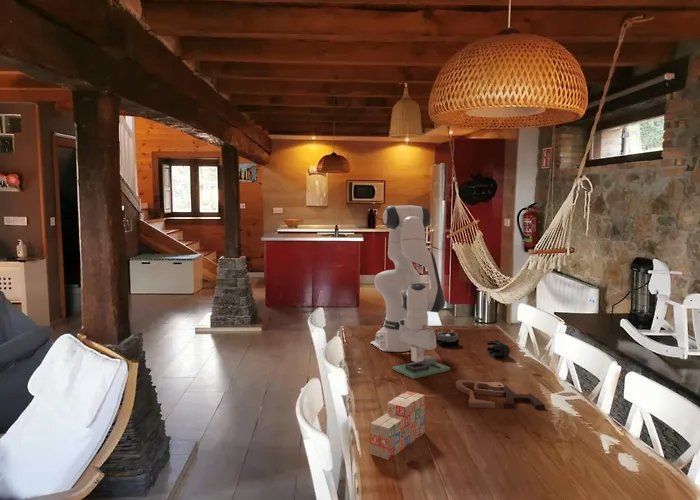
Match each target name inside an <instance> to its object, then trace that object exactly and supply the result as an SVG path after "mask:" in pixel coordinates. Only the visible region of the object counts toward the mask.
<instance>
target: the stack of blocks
mask: <svg viewBox="0 0 700 500" xmlns="http://www.w3.org/2000/svg"><path fill="white" fill-rule="evenodd" d="M425 398H426V395H425V394H421V393H417V392H415V391H414V392H413V391H408V390H407V391H405V392H403V393H401V394H399V395H398V396H396V397H394V398H393V399H392V400H390V401H388V402H387V408H386V410H387V411H386V413H384V414H383V415H381V416H380V417H378V418H376V419H375V420H373V421H371V422H370V434H369V435H370V437H369V439H370V440H369V441H370V447H369V450H370V454H371V455H373V456H376V457H379V458H381V459H385V460H388V461H389V460H391V459H392V458H393V457H394V456H396V455H397V454H398V453H400V452H401V451H403V450H404V449H405V448H407V446H410V444H412V443H414V441H416V440H417V439H419V438H420V437H421V436H422V435H424V434H425V433H426V432H425V431H426V430H425V428H426V427H425V419H426V418H425V414H426V413H425V411H426V404H425V403H426V401H425V400H426V399H425Z"/></svg>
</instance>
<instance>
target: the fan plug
mask: <svg viewBox="0 0 700 500" xmlns="http://www.w3.org/2000/svg"><path fill="white" fill-rule="evenodd" d="M420 350H421V349H420V347H419V346H416V345H415V346H411V350H410V355H411V356H410V357H411V361H412V362H419V361H423V357H419V356H418V353H419V352H420Z"/></svg>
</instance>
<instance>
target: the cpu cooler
mask: <svg viewBox="0 0 700 500" xmlns="http://www.w3.org/2000/svg"><path fill="white" fill-rule="evenodd" d="M458 335H459V334H458V333H456V332H452V331H438V332H436V345H438V346H439V347H440V348H454V347H453V346H456V347H457V348H458V347H459V345H460V344H459V343H460V340H459V338H458V337H459V336H458Z"/></svg>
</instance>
